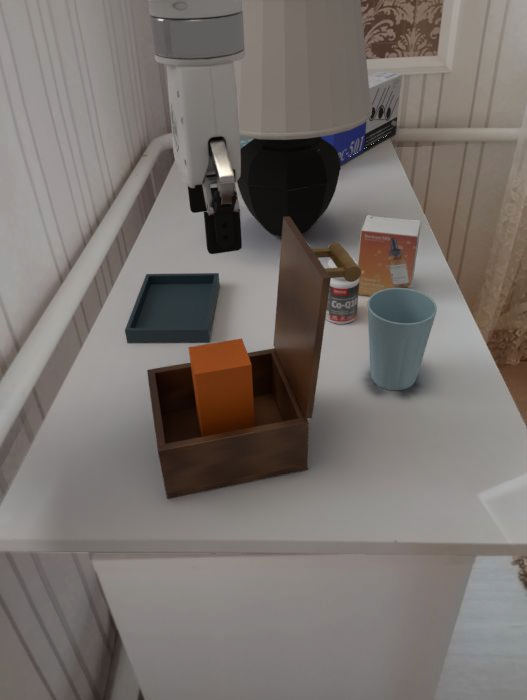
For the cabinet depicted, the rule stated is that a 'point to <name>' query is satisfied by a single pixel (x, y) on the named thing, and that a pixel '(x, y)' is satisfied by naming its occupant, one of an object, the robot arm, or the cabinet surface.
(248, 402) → the block
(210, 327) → the tray
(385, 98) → the ink box
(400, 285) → the small box
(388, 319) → the cup
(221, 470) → the chest
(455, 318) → the cabinet surface
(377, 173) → the cabinet surface
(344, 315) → the pill bottle
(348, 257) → the lid
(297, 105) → the table lamp
